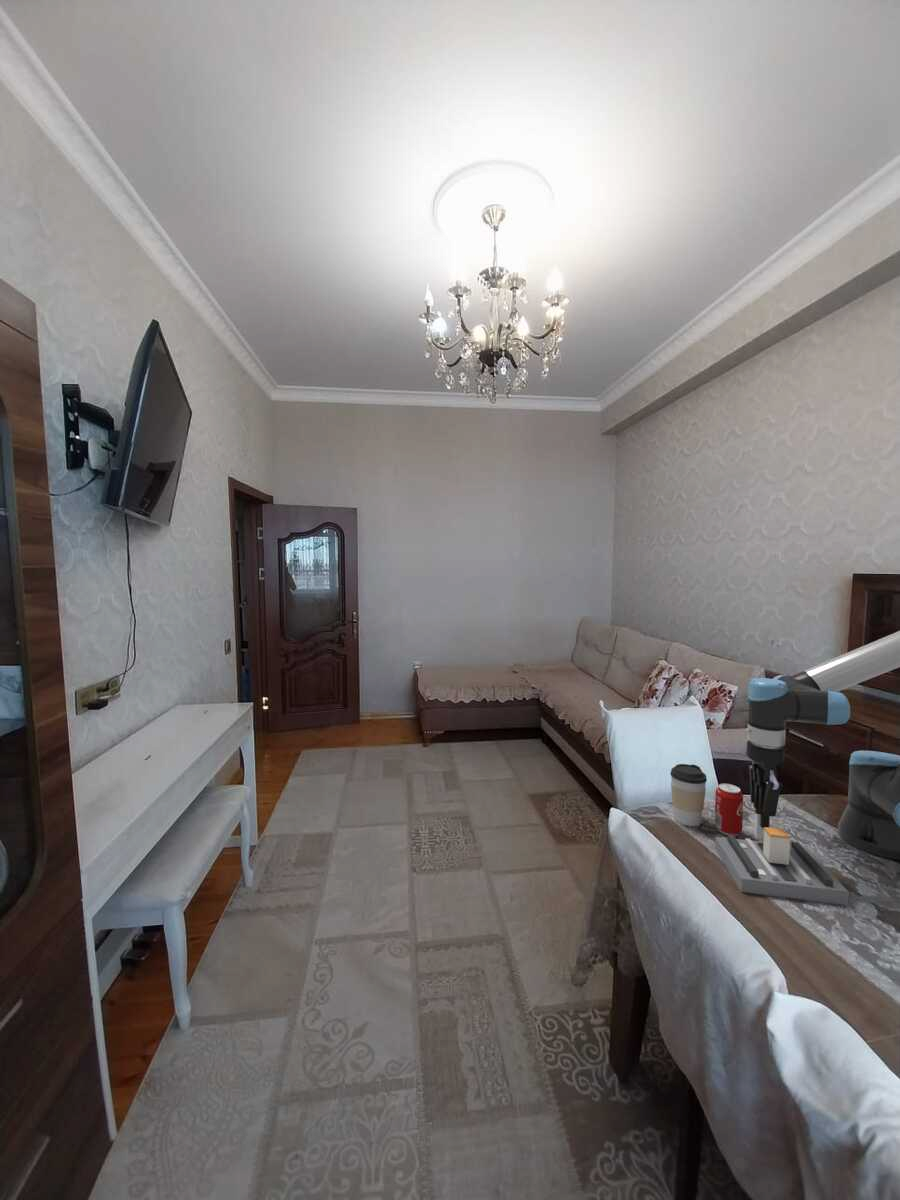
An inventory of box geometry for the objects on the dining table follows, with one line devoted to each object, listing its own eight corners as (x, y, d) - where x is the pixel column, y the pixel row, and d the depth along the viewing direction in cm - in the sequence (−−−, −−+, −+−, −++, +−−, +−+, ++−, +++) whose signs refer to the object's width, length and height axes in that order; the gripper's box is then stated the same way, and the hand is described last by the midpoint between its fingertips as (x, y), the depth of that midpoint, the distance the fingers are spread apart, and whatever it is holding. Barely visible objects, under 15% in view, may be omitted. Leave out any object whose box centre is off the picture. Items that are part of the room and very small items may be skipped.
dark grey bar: (798, 859, 111) (799, 842, 111) (833, 900, 97) (834, 880, 97) (789, 858, 111) (790, 841, 111) (823, 899, 98) (824, 879, 97)
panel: (805, 858, 111) (806, 842, 111) (847, 905, 96) (848, 886, 96) (715, 848, 116) (715, 833, 115) (740, 891, 100) (741, 874, 100)
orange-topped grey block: (782, 856, 107) (783, 829, 106) (788, 864, 104) (790, 836, 103) (763, 854, 107) (764, 827, 107) (769, 862, 104) (770, 834, 104)
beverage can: (746, 839, 119) (747, 794, 119) (719, 836, 121) (720, 792, 120) (736, 826, 126) (737, 783, 125) (710, 823, 127) (712, 781, 126)
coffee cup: (689, 831, 123) (691, 777, 122) (662, 815, 131) (663, 764, 130) (713, 824, 127) (714, 771, 126) (684, 808, 135) (686, 758, 134)
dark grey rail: (733, 852, 114) (734, 835, 114) (759, 891, 100) (759, 871, 100) (725, 851, 114) (726, 834, 114) (749, 890, 101) (750, 870, 100)
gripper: (737, 732, 118) (734, 821, 120) (759, 752, 105) (755, 851, 107) (770, 735, 117) (766, 825, 118) (796, 755, 104) (792, 855, 105)
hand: (761, 837), depth 113 cm, fingers closed
